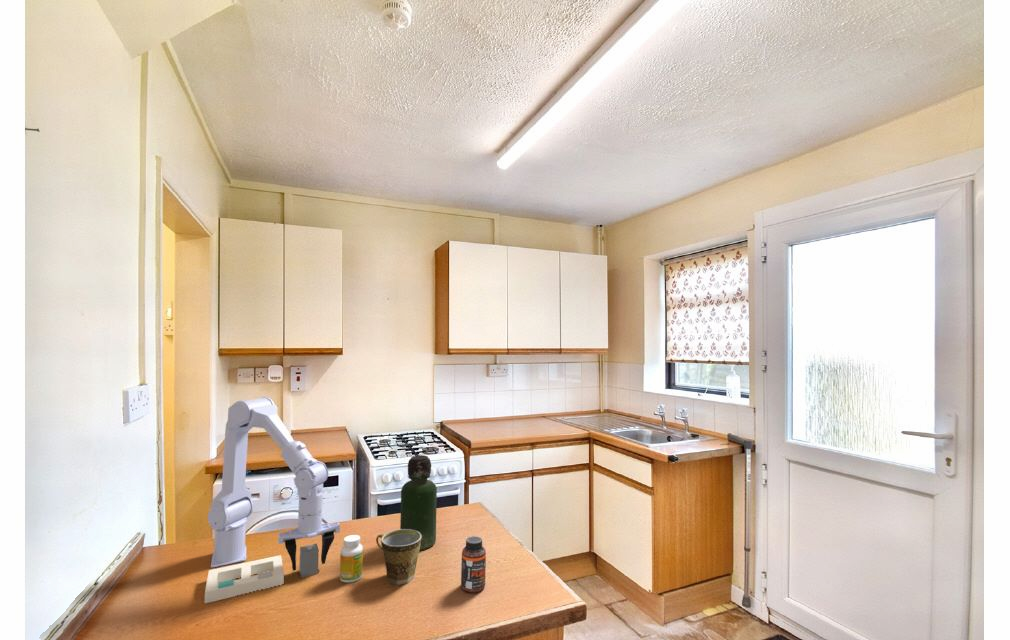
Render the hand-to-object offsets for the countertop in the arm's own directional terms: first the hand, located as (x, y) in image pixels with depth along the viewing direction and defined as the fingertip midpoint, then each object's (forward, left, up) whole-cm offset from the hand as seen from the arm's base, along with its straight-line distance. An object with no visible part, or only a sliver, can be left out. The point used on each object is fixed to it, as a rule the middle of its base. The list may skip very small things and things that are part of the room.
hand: (308, 565), depth 113 cm
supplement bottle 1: (+8, +9, -2) cm, 12 cm away
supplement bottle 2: (+27, +34, -2) cm, 43 cm away
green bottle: (-2, +30, -2) cm, 30 cm away
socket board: (-2, -14, -2) cm, 14 cm away
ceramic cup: (+13, +19, -2) cm, 23 cm away
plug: (0, 0, -2) cm, 2 cm away
